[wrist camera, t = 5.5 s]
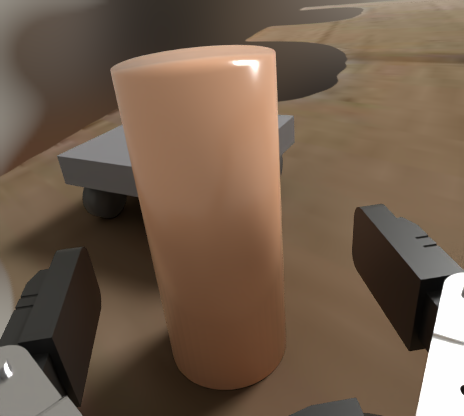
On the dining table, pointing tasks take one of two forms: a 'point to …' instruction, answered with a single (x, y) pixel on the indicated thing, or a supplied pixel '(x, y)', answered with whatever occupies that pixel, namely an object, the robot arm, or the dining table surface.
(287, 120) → the caster cart
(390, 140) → the dining table surface
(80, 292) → the robot arm
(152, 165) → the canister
